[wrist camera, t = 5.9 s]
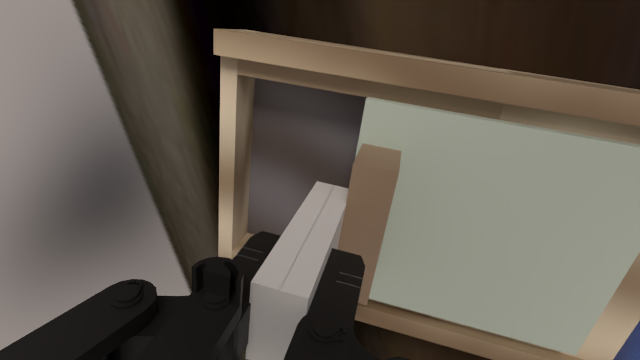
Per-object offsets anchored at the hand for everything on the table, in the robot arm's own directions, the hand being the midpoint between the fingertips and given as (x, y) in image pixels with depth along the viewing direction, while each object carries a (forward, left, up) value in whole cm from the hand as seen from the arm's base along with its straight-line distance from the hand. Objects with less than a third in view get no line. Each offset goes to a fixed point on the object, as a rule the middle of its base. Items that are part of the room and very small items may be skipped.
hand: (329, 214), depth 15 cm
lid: (0, +6, -2) cm, 6 cm away
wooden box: (0, +4, -4) cm, 6 cm away
